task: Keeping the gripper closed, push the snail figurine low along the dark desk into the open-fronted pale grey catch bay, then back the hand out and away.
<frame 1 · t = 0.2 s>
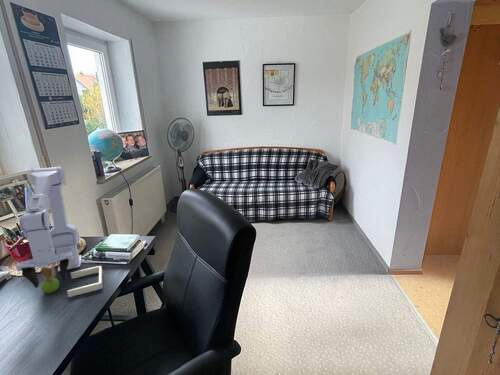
hand: (51, 282, 90), 10 cm above the table, tool pointing down, fingers open, 7 cm apart
snail figurine: (53, 291, 100), on the table
catch bay: (85, 283, 105), on the table
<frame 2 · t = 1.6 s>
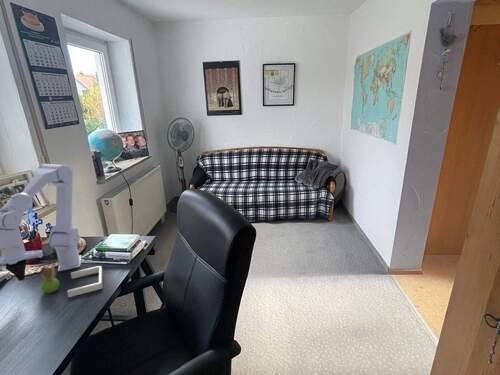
hand: (22, 278, 94), 8 cm above the table, tool pointing down, fingers closed
nothing on the table moved.
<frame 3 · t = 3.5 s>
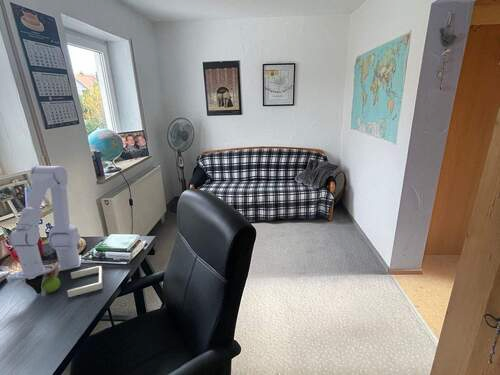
hand: (39, 292, 98), 1 cm above the table, tool pointing down, fingers closed
snail figurine: (53, 291, 100), on the table, touching gripper
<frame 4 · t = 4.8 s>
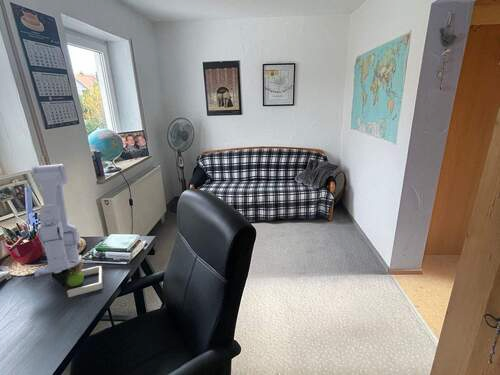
hand: (64, 286, 101), 1 cm above the table, tool pointing down, fingers closed
snail figurine: (76, 285, 103), on the table, touching gripper
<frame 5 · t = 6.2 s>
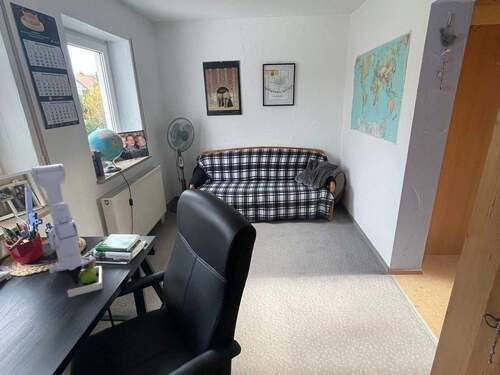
hand: (77, 282, 103), 1 cm above the table, tool pointing down, fingers closed
snail figurine: (89, 282, 105), on the table, touching gripper
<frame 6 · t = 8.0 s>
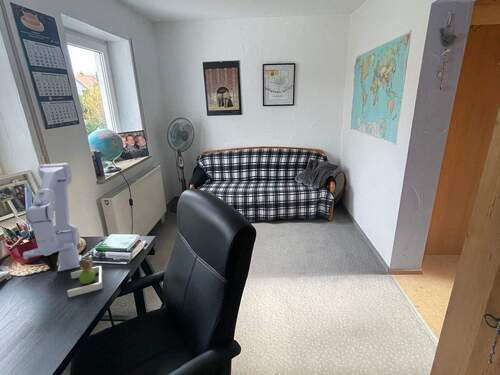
hand: (54, 270, 99), 8 cm above the table, tool pointing down, fingers closed
snail figurine: (89, 282, 105), on the table
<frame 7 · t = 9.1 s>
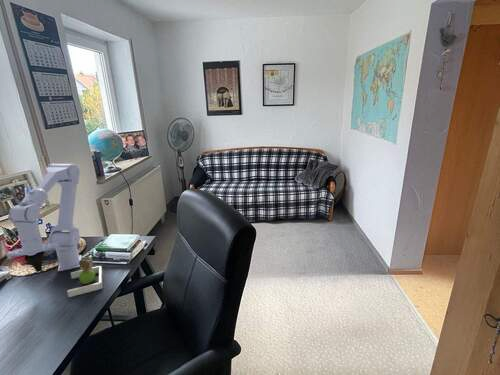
hand: (39, 270, 98), 8 cm above the table, tool pointing down, fingers closed
nothing on the table moved.
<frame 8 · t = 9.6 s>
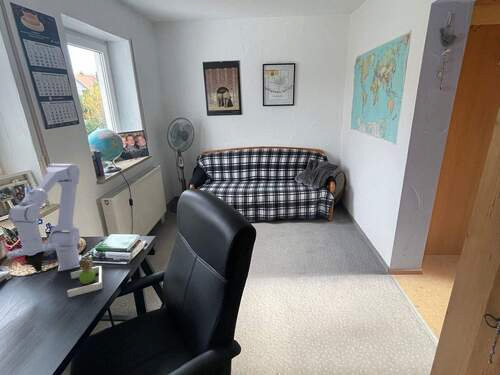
hand: (39, 270, 98), 8 cm above the table, tool pointing down, fingers closed
nothing on the table moved.
at the end: snail figurine inside the target area on the catch bay (0.9 cm from its centre), point 0.0 cm above the catch bay's base; snail figurine moved 11.9 cm from its start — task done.
